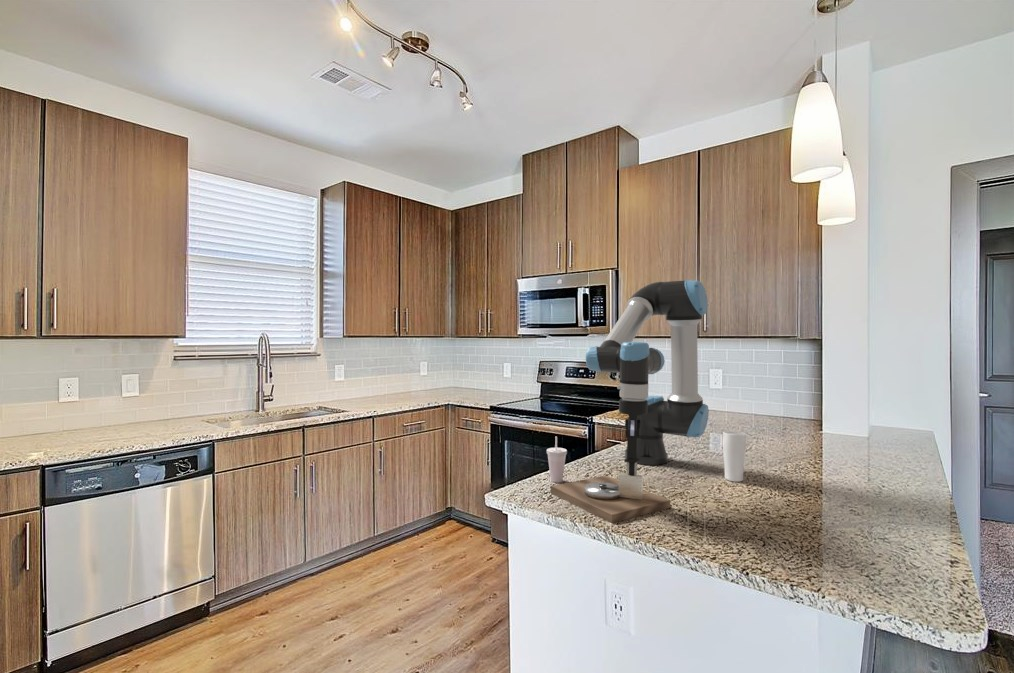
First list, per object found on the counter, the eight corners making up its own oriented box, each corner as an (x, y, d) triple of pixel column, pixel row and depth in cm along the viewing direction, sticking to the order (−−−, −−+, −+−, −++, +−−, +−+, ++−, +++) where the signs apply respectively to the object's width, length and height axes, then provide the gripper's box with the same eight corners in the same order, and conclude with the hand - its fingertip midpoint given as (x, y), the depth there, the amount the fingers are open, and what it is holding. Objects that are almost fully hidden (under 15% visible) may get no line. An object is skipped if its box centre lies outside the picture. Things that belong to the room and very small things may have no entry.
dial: (644, 493, 132) (644, 471, 132) (639, 505, 123) (639, 481, 123) (589, 485, 139) (589, 464, 139) (580, 496, 129) (580, 474, 129)
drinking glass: (740, 477, 156) (741, 431, 156) (749, 483, 149) (749, 435, 149) (719, 476, 156) (719, 430, 156) (726, 482, 150) (727, 434, 150)
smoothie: (543, 481, 149) (543, 436, 149) (550, 476, 154) (551, 433, 154) (562, 485, 146) (562, 439, 146) (569, 479, 151) (570, 435, 151)
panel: (605, 481, 149) (605, 475, 149) (670, 507, 128) (670, 499, 128) (550, 493, 138) (550, 485, 138) (611, 523, 117) (611, 514, 117)
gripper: (620, 394, 137) (618, 476, 138) (617, 401, 125) (615, 491, 125) (647, 396, 135) (645, 479, 136) (648, 403, 123) (645, 494, 123)
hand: (631, 485), depth 131 cm, fingers closed
